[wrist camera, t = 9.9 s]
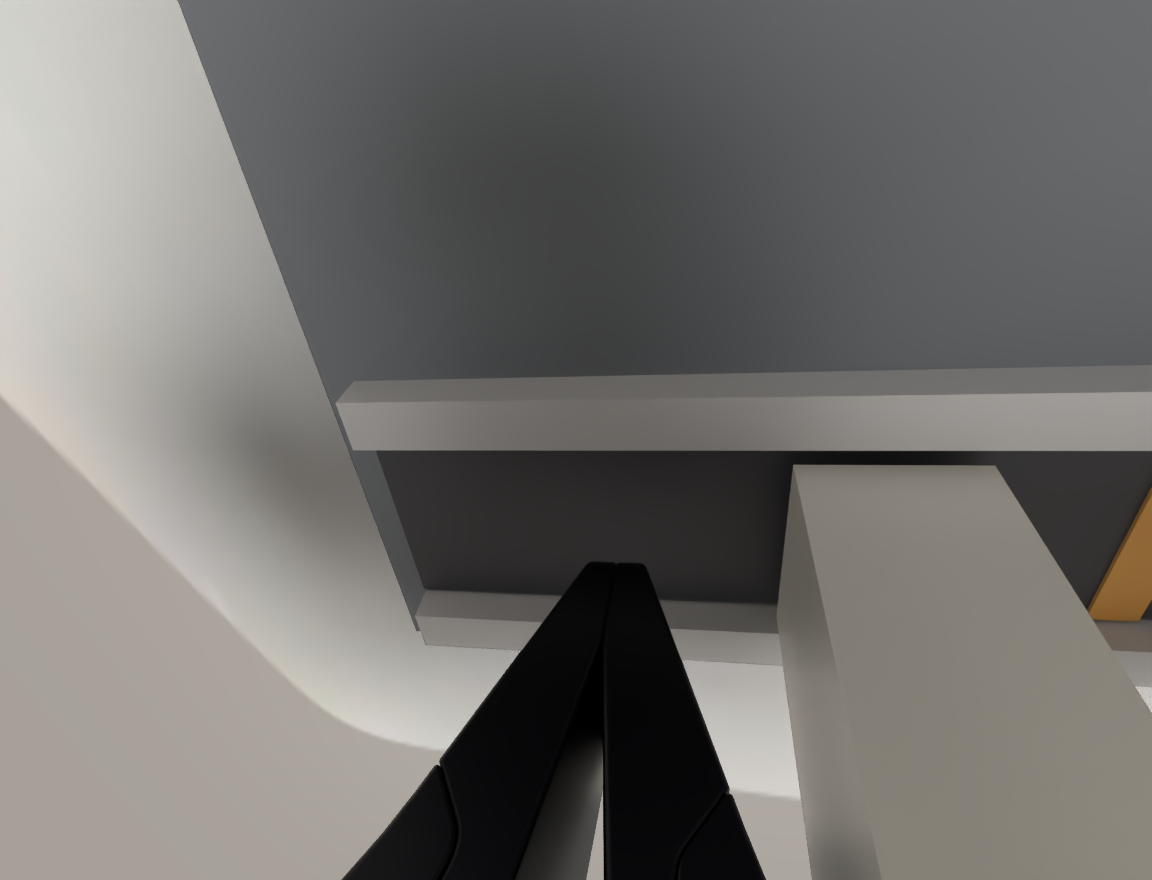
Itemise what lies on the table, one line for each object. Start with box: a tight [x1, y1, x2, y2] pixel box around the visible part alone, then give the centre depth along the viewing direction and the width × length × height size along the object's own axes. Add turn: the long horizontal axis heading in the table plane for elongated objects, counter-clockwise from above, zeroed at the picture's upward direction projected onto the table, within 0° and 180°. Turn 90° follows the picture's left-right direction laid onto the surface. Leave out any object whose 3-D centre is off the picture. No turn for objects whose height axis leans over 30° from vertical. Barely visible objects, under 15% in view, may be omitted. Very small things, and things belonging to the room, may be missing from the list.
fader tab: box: [776, 465, 1152, 880], centre depth 7 cm, size 2×3×5 cm
